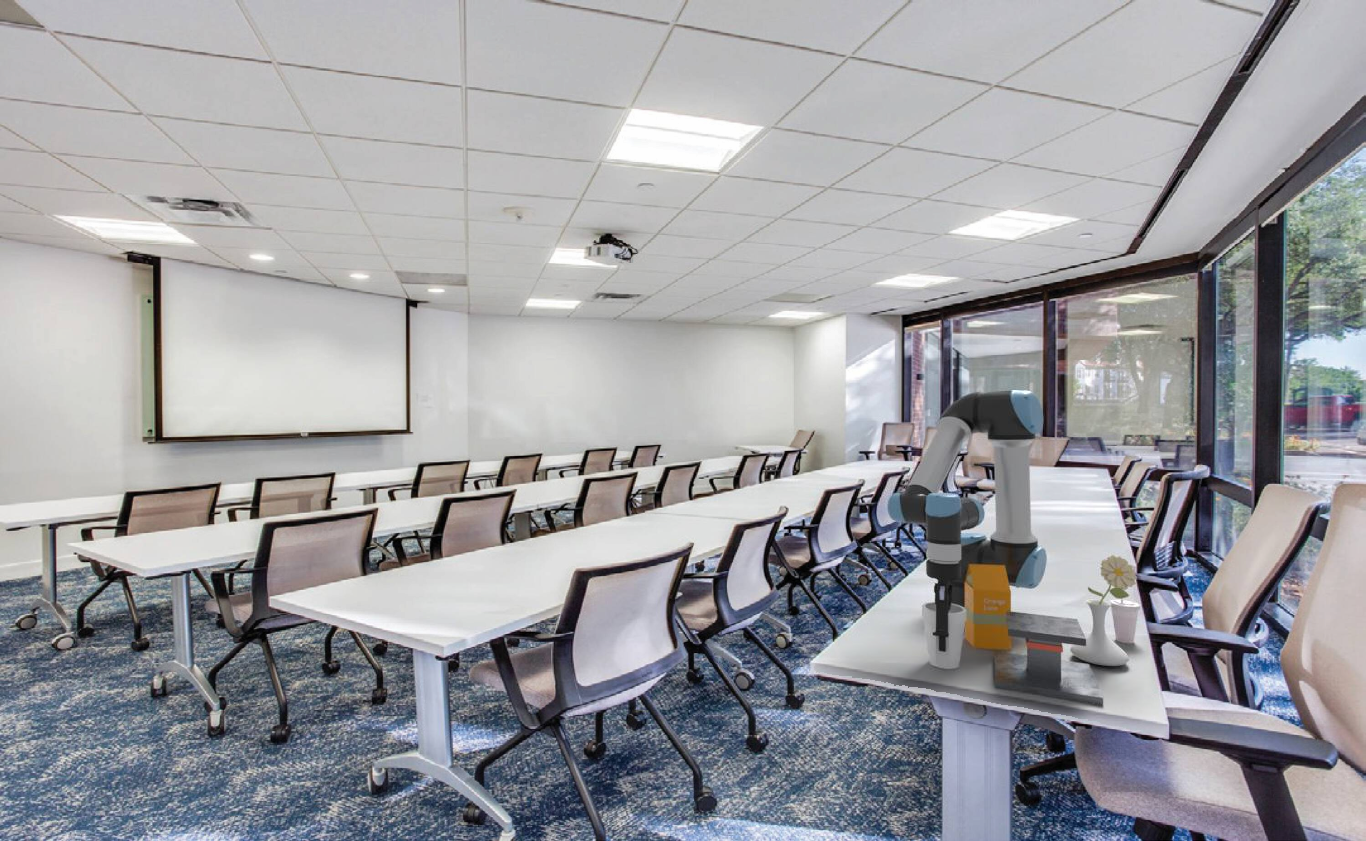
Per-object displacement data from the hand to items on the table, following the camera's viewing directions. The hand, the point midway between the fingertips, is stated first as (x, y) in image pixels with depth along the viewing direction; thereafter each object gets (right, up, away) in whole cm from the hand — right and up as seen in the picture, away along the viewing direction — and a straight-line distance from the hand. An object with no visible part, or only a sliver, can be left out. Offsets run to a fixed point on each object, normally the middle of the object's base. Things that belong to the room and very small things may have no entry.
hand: (944, 656), depth 143 cm
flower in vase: (+37, -2, +1) cm, 38 cm away
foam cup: (0, -2, 0) cm, 2 cm away
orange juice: (+16, -2, +13) cm, 21 cm away
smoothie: (+52, -2, +14) cm, 54 cm away
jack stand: (+18, -1, -9) cm, 20 cm away
